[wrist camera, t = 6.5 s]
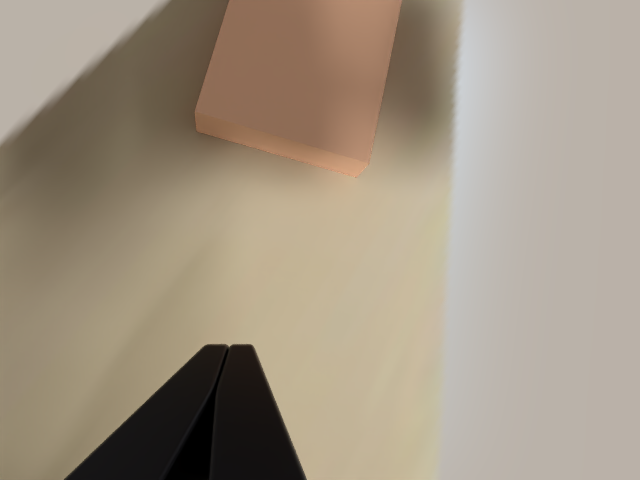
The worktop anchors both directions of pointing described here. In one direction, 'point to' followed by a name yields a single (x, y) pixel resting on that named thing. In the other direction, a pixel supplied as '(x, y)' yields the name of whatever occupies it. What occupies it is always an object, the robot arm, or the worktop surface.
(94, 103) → the worktop surface
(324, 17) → the block
